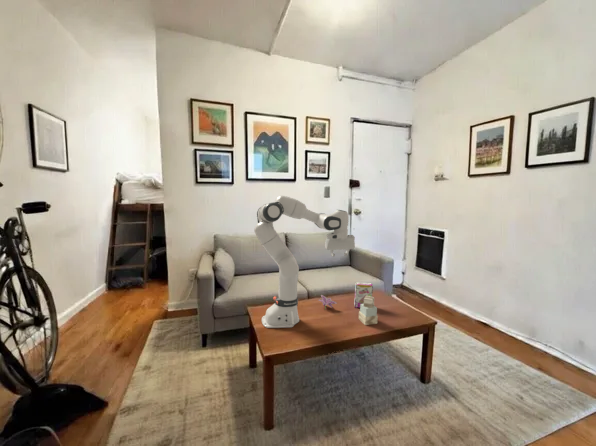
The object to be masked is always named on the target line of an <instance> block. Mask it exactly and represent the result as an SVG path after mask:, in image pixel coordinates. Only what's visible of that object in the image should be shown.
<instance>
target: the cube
mask: <svg viewBox="0 0 596 446" xmlns="http://www.w3.org/2000/svg"><path fill="white" fill-rule="evenodd" d="M373 306H375V296H372V297H371V296H365V298H364V307H369V308H372V307H373Z"/></svg>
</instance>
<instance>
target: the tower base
mask: <svg viewBox="0 0 596 446" xmlns="http://www.w3.org/2000/svg"><path fill="white" fill-rule="evenodd" d="M378 318H379V317H378V315H377V316H370V317H365V316H364V315H363V314H362V313H361V312H360V310H359V311H358V320H359V321H360V322H361V323H362V324H363V325H364V326H369V325H376V324H378Z"/></svg>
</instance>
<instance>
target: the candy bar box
mask: <svg viewBox="0 0 596 446" xmlns="http://www.w3.org/2000/svg"><path fill="white" fill-rule="evenodd" d="M354 284H355V285H354V286H355V287H354V302H353V304H354V308H355V309H357V308H358V309H360V304H364V298H365V296H371V297H373V289H374V285H373V283H371V282H362V281H361V282H357V281H356V282H355V283H354Z"/></svg>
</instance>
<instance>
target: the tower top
mask: <svg viewBox="0 0 596 446" xmlns="http://www.w3.org/2000/svg"><path fill="white" fill-rule="evenodd" d="M359 311H360V312H361V313H362V314H363V315H364V316H365V317H370V316H378V307H377V306H375V305H374V306H373V307H372V308H369V307H364V304H360V308H359Z"/></svg>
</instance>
